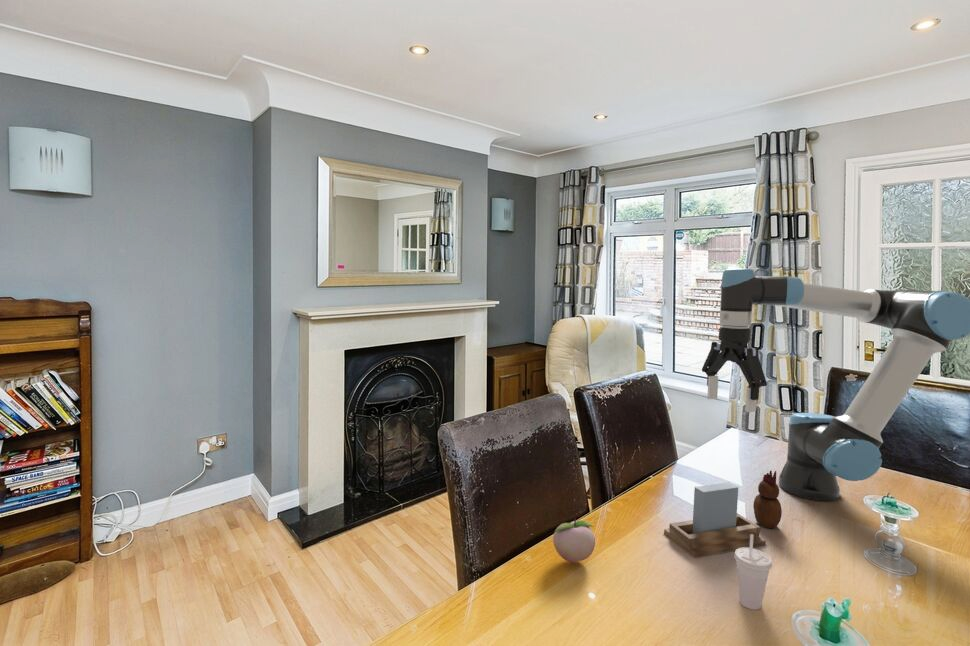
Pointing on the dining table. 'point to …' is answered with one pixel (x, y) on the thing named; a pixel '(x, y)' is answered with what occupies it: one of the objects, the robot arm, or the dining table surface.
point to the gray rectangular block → (714, 507)
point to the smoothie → (752, 575)
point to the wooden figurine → (768, 502)
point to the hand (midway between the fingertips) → (730, 404)
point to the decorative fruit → (574, 540)
